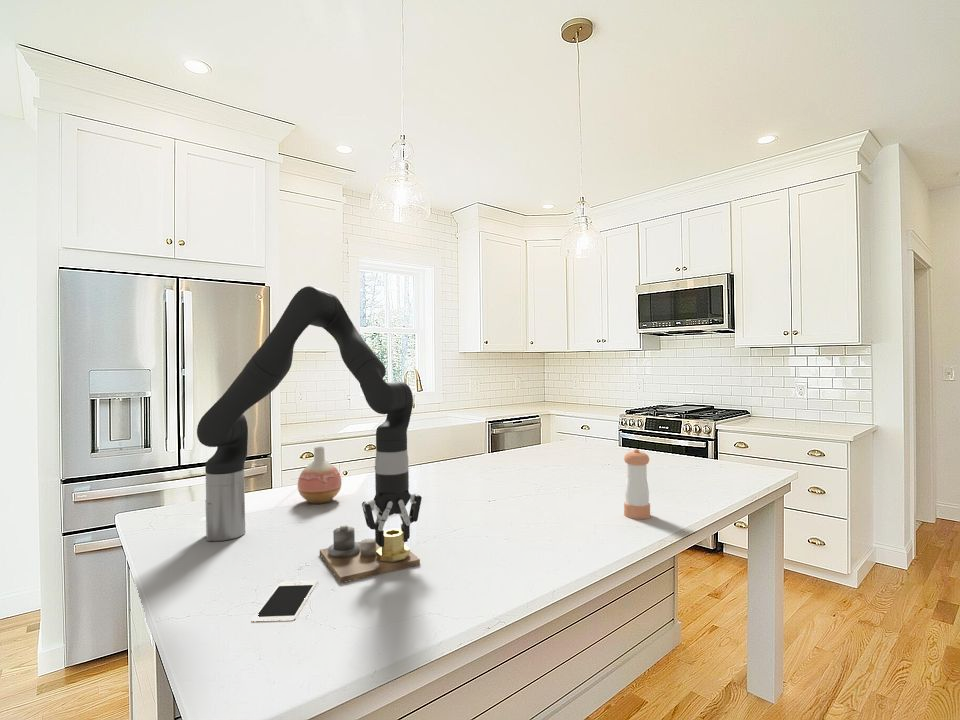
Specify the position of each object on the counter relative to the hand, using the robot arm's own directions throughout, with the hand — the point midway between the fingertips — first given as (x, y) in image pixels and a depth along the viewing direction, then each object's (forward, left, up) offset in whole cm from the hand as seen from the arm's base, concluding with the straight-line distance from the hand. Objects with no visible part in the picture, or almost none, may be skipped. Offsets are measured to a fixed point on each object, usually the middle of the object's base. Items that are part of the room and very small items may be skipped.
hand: (392, 543), depth 120 cm
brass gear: (0, 0, -3) cm, 3 cm away
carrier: (-4, +4, -4) cm, 8 cm away
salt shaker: (+73, -6, -5) cm, 73 cm away
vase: (-2, +59, -5) cm, 60 cm away
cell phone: (-24, -7, -5) cm, 26 cm away
